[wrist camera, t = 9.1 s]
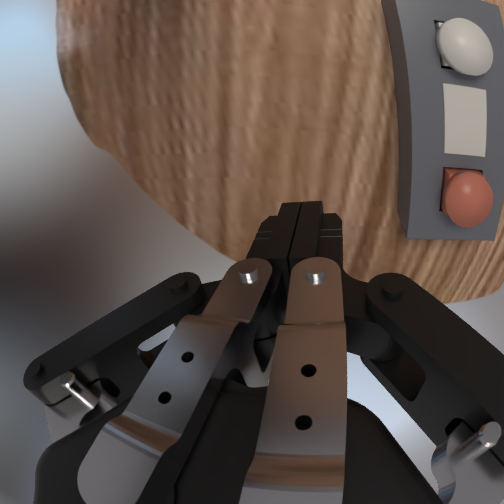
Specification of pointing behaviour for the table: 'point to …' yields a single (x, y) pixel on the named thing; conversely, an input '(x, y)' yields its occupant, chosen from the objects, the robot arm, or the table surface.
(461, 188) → the red plunger
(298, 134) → the table surface
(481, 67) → the white plunger
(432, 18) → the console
